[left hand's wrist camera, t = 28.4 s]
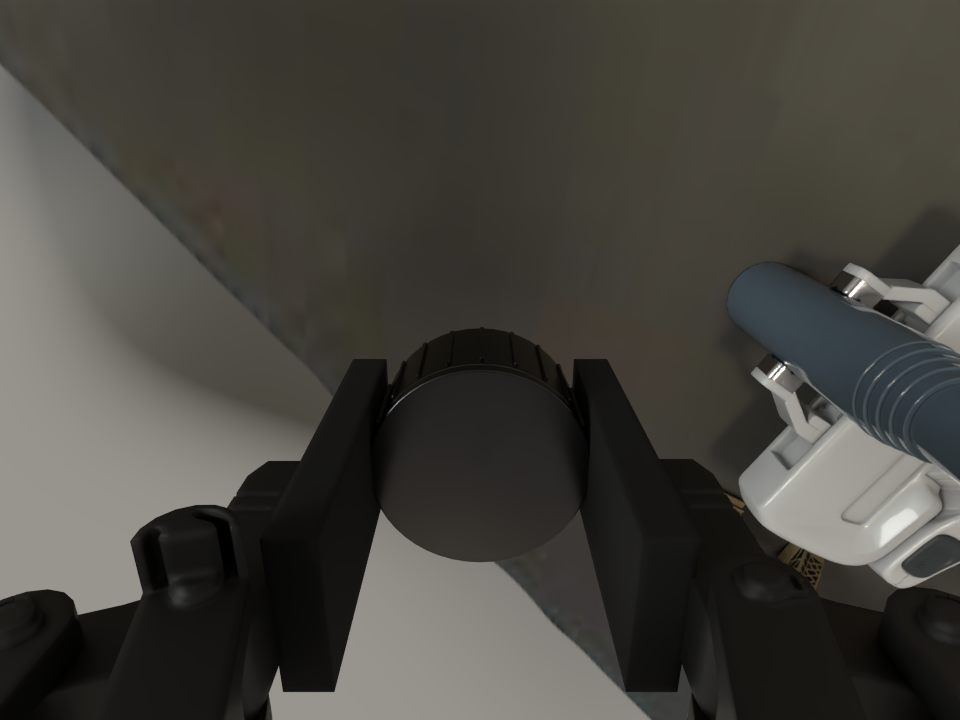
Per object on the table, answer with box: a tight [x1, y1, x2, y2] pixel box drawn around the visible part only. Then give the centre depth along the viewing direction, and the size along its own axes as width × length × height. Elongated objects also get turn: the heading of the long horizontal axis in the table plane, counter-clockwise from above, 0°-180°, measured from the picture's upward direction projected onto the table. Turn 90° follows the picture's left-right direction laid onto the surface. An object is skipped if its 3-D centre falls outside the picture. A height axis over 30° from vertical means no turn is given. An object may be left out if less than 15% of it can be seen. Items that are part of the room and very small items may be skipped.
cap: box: [371, 327, 590, 562], centre depth 13 cm, size 4×4×2 cm
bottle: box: [727, 262, 960, 484], centre depth 29 cm, size 5×5×20 cm
